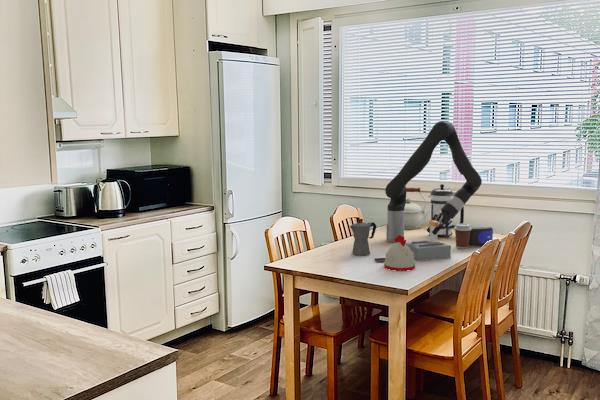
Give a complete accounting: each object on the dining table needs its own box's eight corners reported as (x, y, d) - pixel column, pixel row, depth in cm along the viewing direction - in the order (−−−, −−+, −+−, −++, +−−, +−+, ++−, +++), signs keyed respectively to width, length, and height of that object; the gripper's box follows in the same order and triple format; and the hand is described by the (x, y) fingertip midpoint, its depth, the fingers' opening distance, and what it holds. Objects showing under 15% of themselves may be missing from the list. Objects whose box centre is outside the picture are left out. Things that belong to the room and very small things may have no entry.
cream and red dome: (395, 272, 254) (395, 239, 252) (378, 265, 266) (379, 234, 264) (421, 269, 259) (421, 236, 257) (404, 262, 272) (404, 231, 270)
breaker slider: (433, 241, 287) (434, 220, 285) (439, 243, 282) (440, 221, 280) (426, 242, 286) (427, 220, 284) (432, 244, 281) (433, 222, 279)
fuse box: (435, 251, 293) (435, 238, 292) (450, 257, 280) (451, 243, 279) (403, 254, 288) (404, 240, 287) (417, 260, 274) (418, 246, 273)
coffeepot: (354, 257, 282) (354, 221, 280) (345, 253, 291) (345, 218, 288) (381, 254, 289) (381, 218, 286) (371, 250, 297) (371, 216, 295)
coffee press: (435, 239, 322) (437, 186, 317) (423, 233, 337) (424, 183, 333) (463, 237, 326) (465, 185, 321) (450, 232, 341) (451, 182, 337)
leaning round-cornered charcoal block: (465, 246, 303) (466, 229, 302) (462, 244, 307) (462, 227, 306) (495, 245, 305) (495, 228, 303) (491, 243, 309) (492, 226, 308)
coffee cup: (456, 244, 308) (457, 222, 306) (473, 246, 303) (474, 224, 301) (450, 247, 301) (451, 225, 299) (467, 249, 295) (468, 227, 294)
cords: (376, 262, 272) (376, 260, 271) (374, 260, 276) (374, 258, 275) (410, 261, 274) (410, 258, 274) (407, 258, 278) (407, 256, 278)
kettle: (389, 229, 351) (390, 189, 348) (390, 224, 369) (390, 185, 366) (431, 230, 347) (432, 189, 344) (429, 224, 365) (430, 186, 362)
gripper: (440, 200, 290) (418, 225, 288) (456, 204, 277) (433, 230, 275) (449, 210, 292) (427, 234, 290) (465, 214, 279) (443, 240, 277)
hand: (430, 232), depth 283 cm, fingers open, 4 cm apart
